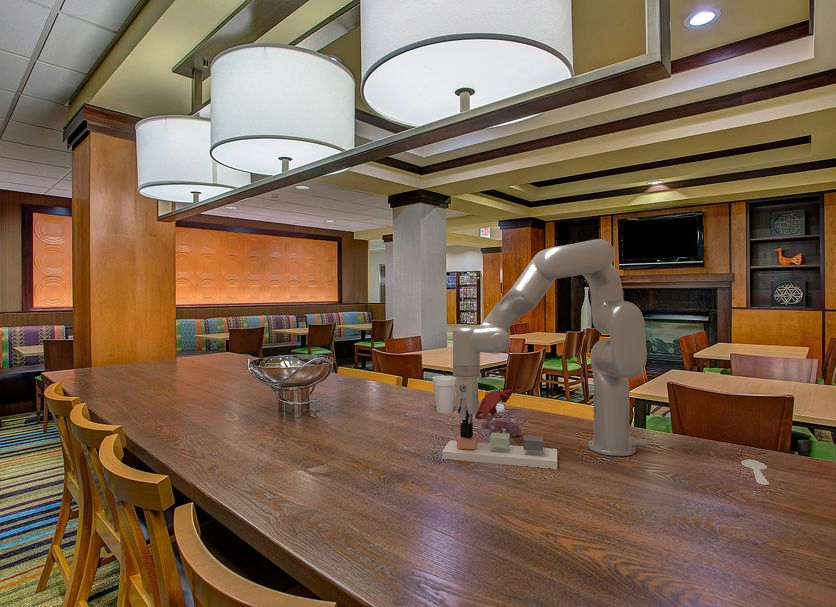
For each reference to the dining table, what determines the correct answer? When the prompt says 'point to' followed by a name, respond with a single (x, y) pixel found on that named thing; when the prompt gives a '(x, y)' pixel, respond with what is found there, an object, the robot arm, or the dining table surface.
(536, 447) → the charcoal key
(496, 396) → the decorative bird sculpture
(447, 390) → the foam cup
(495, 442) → the sage key
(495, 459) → the keypad base
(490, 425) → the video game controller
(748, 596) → the dining table surface
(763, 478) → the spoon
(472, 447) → the terracotta key
